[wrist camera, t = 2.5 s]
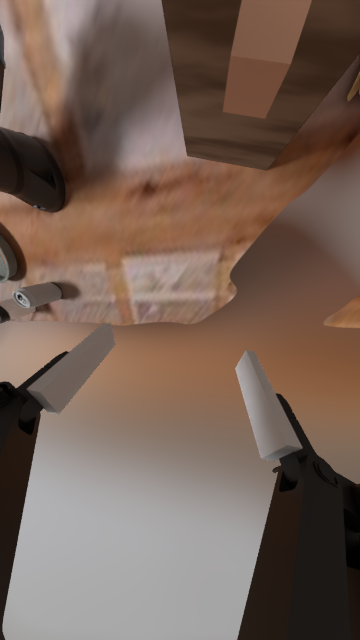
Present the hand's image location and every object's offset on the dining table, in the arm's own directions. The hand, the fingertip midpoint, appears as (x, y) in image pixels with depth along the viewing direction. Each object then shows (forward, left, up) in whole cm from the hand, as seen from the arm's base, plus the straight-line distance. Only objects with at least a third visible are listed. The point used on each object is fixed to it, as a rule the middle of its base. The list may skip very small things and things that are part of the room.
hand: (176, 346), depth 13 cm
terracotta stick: (-20, +21, -6) cm, 30 cm away
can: (-28, -53, -36) cm, 70 cm away
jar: (-33, -73, -36) cm, 88 cm away
